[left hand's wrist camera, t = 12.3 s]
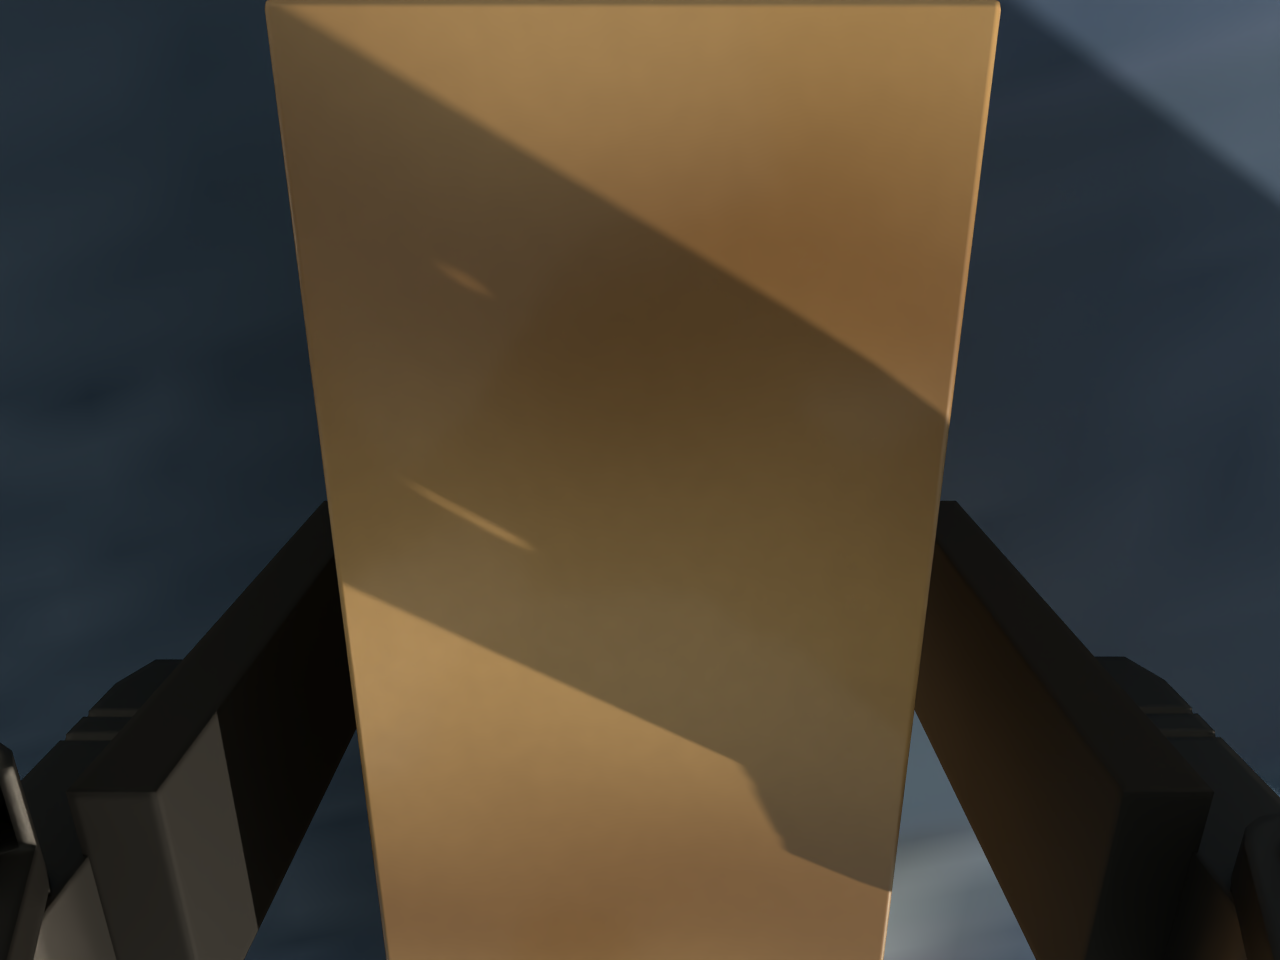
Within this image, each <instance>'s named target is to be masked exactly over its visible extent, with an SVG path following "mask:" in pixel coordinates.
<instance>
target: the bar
mask: <svg viewBox="0 0 1280 960" xmlns="http://www.w3.org/2000/svg"><path fill="white" fill-rule="evenodd" d="M1000 12H1001V8H1000V2H999V1H997V0H268V1H266V4H265V16H266V23H267V31H268V39H269V47H270V55H271V63H272V70H273V78H274V86H275V94H276V102H277V109H278V117H279V125H280V133H281V141H282V149H283V156H284V164H285V172H286V180H287V188H288V195H289V203H290V211H291V219H292V227H293V235H294V242H295V250H296V258H297V266H298V274H299V281H300V289H301V297H302V305H303V313H304V321H305V328H306V336H307V344H308V352H309V360H310V367H311V375H312V383H313V391H314V399H315V407H316V414H317V422H318V430H319V438H320V446H321V453H322V461H323V469H324V477H325V485H326V493H327V500H328V508H329V516H330V524H331V532H332V539H333V547H334V555H335V563H336V571H337V579H338V586H339V594H340V602H341V610H342V618H343V625H344V633H345V641H346V649H347V657H348V665H349V672H350V680H351V688H352V696H353V704H354V711H355V719H356V727H357V735H358V743H359V751H360V758H361V766H362V774H363V782H364V790H365V797H366V805H367V813H368V821H369V829H370V837H371V844H372V852H373V860H374V868H375V876H376V883H377V891H378V899H379V907H380V915H381V923H382V930H383V938H384V946H385V954H386V960H883V959H884V951H885V942H886V934H887V926H888V918H889V910H890V902H891V894H892V886H893V878H894V870H895V862H896V853H897V845H898V837H899V829H900V821H901V813H902V805H903V797H904V789H905V781H906V773H907V764H908V756H909V748H910V740H911V732H912V724H913V716H914V708H915V700H916V692H917V684H918V676H919V667H920V659H921V651H922V643H923V635H924V627H925V619H926V611H927V603H928V595H929V587H930V578H931V570H932V562H933V554H934V546H935V538H936V530H937V522H938V514H939V506H940V498H941V489H942V481H943V473H944V465H945V457H946V449H947V441H948V433H949V425H950V417H951V409H952V400H953V392H954V384H955V376H956V368H957V360H958V352H959V344H960V336H961V328H962V320H963V311H964V303H965V295H966V287H967V279H968V271H969V263H970V255H971V247H972V239H973V231H974V222H975V214H976V206H977V198H978V190H979V182H980V174H981V166H982V158H983V150H984V142H985V133H986V125H987V117H988V109H989V101H990V93H991V85H992V77H993V69H994V61H995V53H996V44H997V36H998V28H999V20H1000Z"/></svg>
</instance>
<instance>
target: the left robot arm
mask: <svg viewBox="0 0 1280 960" xmlns="http://www.w3.org/2000/svg"><path fill="white" fill-rule="evenodd" d="M914 710H915V712H916V714H917V716H918V718H919V720H920V722H921V724H922V726H923V728H924V730H925V732H926V734H927V736H928V738H929V740H930V742H931V745H932V747H933V749H934V751H935V753H936V755H937V757H938V759H939V761H940V763H941V765H942V767H943V769H944V771H945V773H946V775H947V777H948V779H949V781H950V784H951V786H952V788H953V790H954V792H955V794H956V796H957V798H958V800H959V802H960V804H961V806H962V808H963V810H964V812H965V814H966V816H967V818H968V821H969V823H970V825H971V827H972V829H973V831H974V833H975V835H976V837H977V839H978V841H979V843H980V845H981V847H982V849H983V851H984V853H985V855H986V858H987V860H988V862H989V864H990V866H991V868H992V870H993V872H994V874H995V876H996V878H997V880H998V882H999V884H1000V886H1001V888H1002V890H1003V892H1004V895H1005V897H1006V899H1007V901H1008V903H1009V905H1010V907H1011V909H1012V911H1013V913H1014V915H1015V917H1016V919H1017V921H1018V923H1019V925H1020V927H1021V929H1022V932H1023V934H1024V936H1025V938H1026V940H1027V942H1028V944H1029V946H1030V948H1031V950H1032V952H1033V954H1034V956H1035V958H1036V960H1280V797H1279V796H1278V795H1277V794H1276V793H1275V792H1274V791H1273V790H1272V789H1271V788H1270V787H1269V786H1268V785H1267V784H1266V783H1265V782H1264V781H1263V780H1262V779H1261V778H1260V777H1259V776H1258V775H1257V774H1256V773H1255V772H1254V771H1253V770H1252V769H1251V768H1250V767H1249V766H1248V765H1247V764H1246V763H1245V762H1244V761H1243V760H1242V759H1241V757H1240V756H1239V755H1238V754H1237V753H1236V752H1235V751H1234V750H1233V749H1232V748H1231V747H1230V746H1229V745H1228V744H1227V743H1226V742H1225V741H1224V740H1223V739H1222V738H1221V737H1215V731H1214V730H1213V729H1212V728H1211V727H1210V726H1209V725H1208V724H1207V723H1206V722H1205V721H1204V720H1203V719H1202V718H1201V717H1200V716H1199V715H1198V714H1193V713H1192V708H1191V707H1190V705H1189V704H1188V703H1187V702H1186V701H1185V700H1184V699H1183V698H1182V697H1181V696H1180V695H1179V694H1178V693H1177V692H1176V691H1175V690H1174V689H1173V688H1172V687H1171V686H1170V685H1169V684H1168V683H1167V682H1166V681H1165V680H1163V679H1162V678H1160V677H1158V676H1157V675H1155V674H1153V673H1152V672H1150V671H1148V670H1146V669H1145V668H1143V667H1141V666H1140V665H1138V664H1136V663H1135V662H1133V661H1131V660H1129V659H1128V658H1126V657H1094V656H1093V655H1092V654H1091V653H1090V651H1089V650H1088V649H1087V648H1086V647H1085V646H1084V645H1083V644H1082V642H1081V641H1080V640H1079V639H1078V638H1077V637H1076V636H1075V635H1074V633H1073V632H1072V631H1071V630H1070V629H1069V628H1068V627H1067V626H1066V624H1065V623H1064V622H1063V621H1062V620H1061V619H1060V618H1059V617H1058V615H1057V614H1056V613H1055V612H1054V611H1053V610H1052V609H1051V608H1050V606H1049V605H1048V604H1047V603H1046V602H1045V601H1044V600H1043V599H1042V597H1041V596H1040V595H1039V594H1038V593H1037V592H1036V591H1035V590H1034V588H1033V587H1032V586H1031V585H1030V584H1029V583H1028V582H1027V581H1026V579H1025V578H1024V577H1023V576H1022V575H1021V574H1020V573H1019V572H1018V570H1017V569H1016V568H1015V567H1014V566H1013V565H1012V564H1011V563H1010V561H1009V560H1008V559H1007V558H1006V557H1005V556H1004V555H1003V553H1002V552H1001V551H1000V550H999V549H998V548H997V547H996V546H995V544H994V543H993V542H992V541H991V540H990V539H989V538H988V537H987V535H986V534H985V533H984V532H983V531H982V530H981V529H980V528H979V526H978V525H977V524H976V523H975V522H974V521H973V520H972V519H971V517H970V516H969V515H968V514H967V513H966V512H965V511H964V510H963V508H962V507H961V506H960V505H959V504H958V503H957V502H956V501H940V506H939V514H938V522H937V530H936V538H935V546H934V554H933V562H932V570H931V578H930V587H929V595H928V603H927V611H926V619H925V627H924V635H923V643H922V651H921V659H920V667H919V676H918V684H917V692H916V700H915V708H914ZM356 728H357V727H356V719H355V711H354V704H353V696H352V688H351V680H350V672H349V665H348V657H347V649H346V641H345V633H344V625H343V618H342V610H341V602H340V594H339V586H338V579H337V571H336V563H335V555H334V547H333V539H332V532H331V524H330V516H329V508H328V501H324V502H323V503H322V504H321V505H320V506H319V507H318V508H317V510H316V511H315V512H314V513H313V514H312V515H311V516H310V517H309V519H308V520H307V521H306V522H305V523H304V524H303V525H302V526H301V528H300V529H299V530H298V531H297V532H296V533H295V534H294V535H293V537H292V538H291V539H290V540H289V541H288V542H287V543H286V544H285V546H284V547H283V548H282V549H281V550H280V551H279V552H278V553H277V555H276V556H275V557H274V558H273V559H272V560H271V561H270V562H269V564H268V565H267V566H266V567H265V568H264V569H263V570H262V571H261V573H260V574H259V575H258V576H257V577H256V578H255V579H254V580H253V582H252V583H251V584H250V585H249V586H248V587H247V588H246V589H245V591H244V592H243V593H242V594H241V595H240V596H239V597H238V599H237V600H236V601H235V602H234V603H233V604H232V605H231V606H230V608H229V609H228V610H227V611H226V612H225V613H224V614H223V615H222V617H221V618H220V619H219V620H218V621H217V622H216V623H215V624H214V626H213V627H212V628H211V629H210V630H209V631H208V632H207V633H206V635H205V636H204V637H203V638H202V639H201V640H200V641H199V642H198V644H197V645H196V646H195V647H194V648H193V649H192V650H191V651H190V653H189V654H188V655H187V656H186V657H185V658H184V659H183V660H154V661H153V662H151V663H149V664H148V665H146V666H144V667H143V668H141V669H139V670H138V671H136V672H134V673H133V674H131V675H129V676H127V677H126V678H124V679H122V680H121V681H119V682H117V683H116V684H115V685H114V686H113V687H112V688H111V689H110V690H109V691H108V692H107V693H106V694H105V695H104V696H103V697H102V698H101V699H100V700H99V701H98V702H97V703H96V704H95V705H94V706H93V707H92V708H91V709H90V710H89V715H88V717H83V718H82V719H81V720H80V721H79V722H78V723H77V724H76V725H75V726H74V727H73V728H72V729H71V730H70V731H69V732H68V733H67V734H66V740H65V741H59V742H58V743H57V744H56V745H55V746H54V747H53V748H52V749H51V751H50V752H49V753H48V754H47V755H46V756H45V757H44V758H43V759H42V760H41V761H40V762H39V763H38V764H37V765H36V766H35V767H34V768H33V769H32V770H31V771H30V772H29V773H28V774H27V775H26V776H25V777H24V778H23V779H22V780H20V777H19V774H18V770H17V767H16V763H15V760H14V757H13V753H12V750H10V749H9V748H7V747H6V746H4V745H3V744H1V743H0V960H244V958H245V956H246V954H247V952H248V950H249V948H250V946H251V944H252V942H253V940H254V938H255V936H256V934H257V931H258V929H259V927H260V925H261V923H262V921H263V919H264V917H265V915H266V913H267V911H268V909H269V907H270V905H271V903H272V901H273V899H274V897H275V895H276V892H277V890H278V888H279V886H280V884H281V882H282V880H283V878H284V876H285V874H286V872H287V870H288V868H289V866H290V864H291V862H292V860H293V858H294V855H295V853H296V851H297V849H298V847H299V845H300V843H301V841H302V839H303V837H304V835H305V833H306V831H307V829H308V827H309V825H310V823H311V821H312V818H313V816H314V814H315V812H316V810H317V808H318V806H319V804H320V802H321V800H322V798H323V796H324V794H325V792H326V790H327V788H328V786H329V784H330V781H331V779H332V777H333V775H334V773H335V771H336V769H337V767H338V765H339V763H340V761H341V759H342V757H343V755H344V753H345V751H346V749H347V747H348V744H349V742H350V740H351V738H352V736H353V734H354V732H355V730H356Z"/></svg>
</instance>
